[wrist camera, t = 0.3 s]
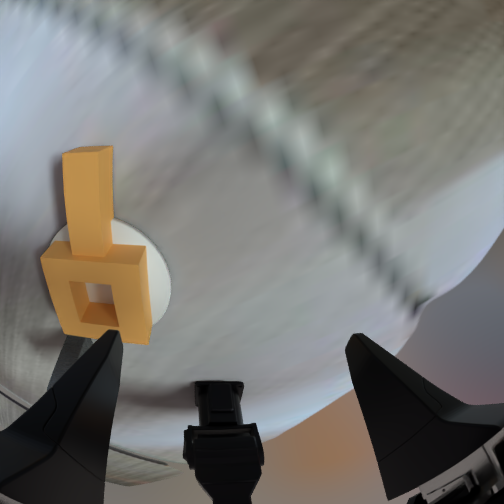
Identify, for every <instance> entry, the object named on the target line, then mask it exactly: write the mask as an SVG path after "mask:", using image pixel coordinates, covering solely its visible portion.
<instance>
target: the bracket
mask: <svg viewBox="0 0 504 504" xmlns="http://www.w3.org/2000/svg"><path fill="white" fill-rule="evenodd" d="M112 157H113V146H89V147H79V148H76V149H73V150H70V151H68V152H65V153H63V154H62V161H63V184H64V197H65V207H66V216H67V224H66V225H65V226H64V227H63V228H62V229H61V230H60V231H59V232H58V233H57V234H56V235H55V237H54V238H53V240H52V242H51V243H50V246H49V248H48V249H47V250H46V251H45V252H44V253H43V255H42V256H41V257H40V260H41V264H42V268H43V271H44V275H45V279H46V282H47V285H48V289H49V292H50V295H51V298H52V301H53V304H54V307H55V310H56V313H57V316H58V319H59V321H60V324H61V326H62V329H63V332H64V334H68V335H74V336H80V337H86V338H93V339H99V338H100V337H101V336H102V335H103V334H104V333H105V332H106V331H107V330H108V329H113V330H118V331H119V332H120V335H121V339H122V342H124V343H134V344H144V345H149V340H150V334H151V328H152V326H153V325H154V324H155V323H157V322H158V321H159V320H160V319H161V317H162V316H163V315H164V313H165V311H166V310H167V307H168V304H169V300H170V295H171V276H170V272H169V269H168V266H167V264H166V261H165V259H164V257H163V256H162V254H161V252H160V251H159V249H158V248H157V247H156V245H155V244H154V243H153V242H152V241H151V240H150V239H149V238H148V237H147V236H146V235H145V234H144V233H142V232H141V231H140V230H138V229H137V228H135V227H134V226H132V225H130V224H128V223H127V222H125V221H122V220H119V219H117V218H114V213H113V187H112Z"/></svg>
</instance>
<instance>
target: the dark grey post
mask: <svg viewBox="0 0 504 504" xmlns="http://www.w3.org/2000/svg"><path fill="white" fill-rule="evenodd" d="M92 345H93V344H92V341H91V338H86V337H80V336H74V335H68V336H67V338H66V340H65V343H64V345H63V348H62V350H61V352H60V355H59V357H58V360H57V363H56V365H55V368H54V370H53V373H52V376H51V379H50V382H49V384H48V387H47V391H48V390H49V389H50V388H51V387H52V386H53V385H54V384H55V382H56V381H57V380H58V379H59V378H60V377H61V376H62V375H63V374H64V373H65V372H66V371H67V370H68V369H69V368H70V367H71V366H72V365H73V364H74V363H75V362H76V361H77V360H78V359H79V358H80V357H81V356H82V355H83V354H84V353H85V352H86V351H87V350H88V349H89V348H90V347H91V346H92Z"/></svg>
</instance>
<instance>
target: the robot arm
mask: <svg viewBox="0 0 504 504" xmlns="http://www.w3.org/2000/svg"><path fill="white" fill-rule="evenodd" d="M345 354H346V358H347V362H348V366H349V371H350V375H351V379H352V383H353V386H354V389H355V392H356V395H357V398H358V401H359V404H360V407H361V410H362V413H363V416H364V420H365V423H366V426H367V429H368V432H369V435H370V439H371V442H372V445H373V448H374V452H375V455H376V459H377V462H378V466H379V470H380V473H381V477H382V481H383V485H384V488H385V492H386V496H387V499H388V500H391V499H394V498H396V497H398V496H400V495H403V494H405V493H407V492H409V491H411V490H413V489H415V488H417V487H419V490H420V493H418V494H416V495H415V496H413V497H411V498H409V500H408V502H407V504H504V403H499V404H489V405H468V404H466V403H463V402H461V401H460V400H458V399H456V398H455V397H453V396H451V395H450V394H448V393H446V392H445V391H443V390H441V389H440V388H438V387H437V386H435V385H434V384H432V383H431V382H429V381H428V380H426V379H425V378H424V377H422V376H421V375H419V374H418V373H417V372H415V371H414V370H413V369H411V368H410V367H408V366H407V365H406V364H404V363H403V362H401V361H400V360H399V359H397V358H396V357H395V356H393V355H392V354H390V353H389V352H388V351H386V350H385V349H383V348H382V347H381V346H379V345H378V344H377V343H375V342H374V341H372V340H371V339H370V338H368V337H367V336H365V335H364V334H363V333H355V334H353V335H352V336H351V338H350V340H349V341H348V343H347V345H346V348H345ZM122 357H123V344H122V339H121V335H120V332H119V331H118V330H113V329H108V330H107V331H106V332H105V333H104V334H103V335H102V336H101V337H100V338H99V339H98V340H97V341H96V342H95V343H94V344H93V345H92V346H91V347H90V348H89V349H88V350H87V351H86V352H85V353H84V354H83V355H82V356H81V357H80V358H79V359H78V360H77V361H76V362H75V363H74V364H73V365H72V366H71V367H70V368H69V369H68V370H67V371H66V372H65V373H64V374H63V375H62V376H61V377H60V378H59V379H58V380H57V381H56V382H55V384H54V385H53V386H52V387H51V388H50V389H49V390H48V391H47V392H46V393H45V394H44V395H43V396H42V397H41V398H40V399H39V400H38V401H37V402H36V403H35V404H34V405H33V406H32V407H31V408H29V409H28V410H27V411H26V412H25V413H24V414H23V415H21V416H20V417H19V418H18V419H17V420H16V421H14V422H13V423H12V424H11V425H10V426H9V427H7V428H6V429H4V430H2V431H0V504H103V503H104V487H105V483H104V482H105V475H106V466H107V457H108V450H109V443H110V436H111V429H112V423H113V418H114V412H115V407H116V402H117V397H118V392H119V385H120V375H121V365H122ZM243 389H244V383H243V382H196V383H195V404H196V406H197V407H198V408H199V426H192V425H188V429H187V430H184V448H183V459H185V460H186V461H187V463H188V464H189V468H190V470H192V469H193V470H195V476H196V479H197V481H198V483H199V485H200V486H201V487H202V489H203V490H204V491H205V492H206V493H207V495H208V496H209V497H210V498H211V500H212V501H213V504H252V502H251V495H252V493H253V491H254V489H255V487H256V485H257V483H258V481H259V479H260V476H261V474H262V472H261V466H263V465H264V452H263V447H262V443H261V439H260V436H259V432H258V429H257V425H256V423H251V424H243V419H242V412H241V405H240V401H241V397H242V393H243Z"/></svg>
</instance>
